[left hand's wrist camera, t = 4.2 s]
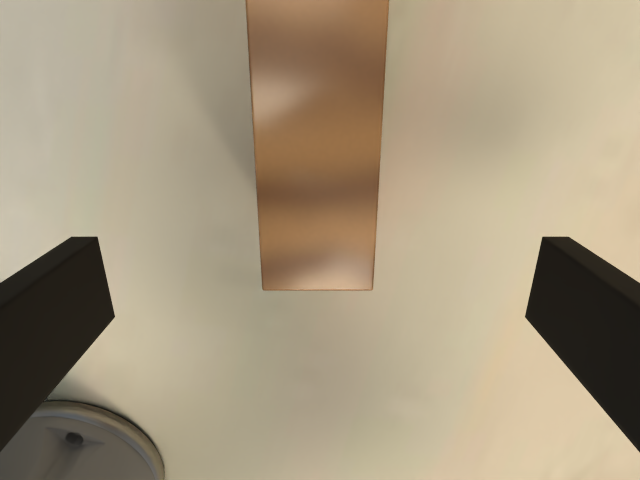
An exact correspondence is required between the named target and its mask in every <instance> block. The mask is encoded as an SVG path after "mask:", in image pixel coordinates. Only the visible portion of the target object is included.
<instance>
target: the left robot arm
mask: <svg viewBox="0 0 640 480" xmlns="http://www.w3.org/2000/svg"><path fill="white" fill-rule="evenodd" d="M114 317H115V315H114V310H113V306H112V301H111V297H110V292H109V287H108V283H107V278H106V274H105V269H104V264H103V260H102V255H101V251H100V246H99V241H98V237H70V238H69V239H67V240H66V241H64V242H63V243H61V244H60V245H58V246H57V247H55V248H53V249H52V250H50V251H49V252H47V253H46V254H44V255H43V256H41V257H40V258H38V259H37V260H35V261H33V262H32V263H30V264H29V265H27V266H26V267H24V268H23V269H21V270H20V271H18V272H17V273H15V274H13V275H12V276H10V277H9V278H7V279H6V280H4V281H3V282H1V283H0V480H164V467H163V463H162V460H161V458H160V455H159V453H158V452H157V450H156V448H155V447H154V445H153V444H152V442H151V441H150V440H149V439H148V438H147V437H146V436H145V435H144V434H143V433H142V432H141V431H140V430H139V429H138V428H136V427H135V426H134V425H132V424H131V423H129V422H128V421H126V420H125V419H123V418H121V417H119V416H117V415H115V414H113V413H111V412H109V411H106V410H104V409H101V408H98V407H95V406H91V405H87V404H82V403H76V402H67V401H51V402H43V401H44V400H45V399H46V398H47V396H48V395H49V394H50V393H51V392H52V391H53V389H54V388H55V387H56V386H57V385H58V384H59V382H60V381H61V380H62V379H63V378H64V376H65V375H66V374H67V373H68V372H69V371H70V369H71V368H72V367H73V366H74V365H75V363H76V362H77V361H78V360H79V359H80V358H81V356H82V355H83V354H84V353H85V352H86V350H87V349H88V348H89V347H90V346H91V345H92V343H93V342H94V341H95V340H96V339H97V338H98V336H99V335H100V334H101V333H102V332H103V330H104V329H105V328H106V327H107V326H108V325H109V323H110V322H111V321H112V320H113V319H114ZM525 317H526V319H527V320H528V321H529V322H530V323H531V325H532V326H533V327H534V328H535V329H536V330H537V332H538V333H539V334H540V335H541V336H542V338H543V339H544V340H545V341H546V342H547V343H548V345H549V346H550V347H551V348H552V349H553V350H554V352H555V353H556V354H557V355H558V356H559V358H560V359H561V360H562V361H563V362H564V363H565V365H566V366H567V367H568V368H569V369H570V371H571V372H572V373H573V374H574V375H575V376H576V378H577V379H578V380H579V381H580V382H581V384H582V385H583V386H584V387H585V388H586V389H587V391H588V392H589V393H590V394H591V395H592V396H593V398H594V399H595V400H596V401H597V402H598V404H599V405H600V406H601V407H602V408H603V409H604V411H605V412H606V413H607V414H608V415H609V417H610V418H611V419H612V420H613V421H614V422H615V424H616V425H617V426H618V427H619V428H620V429H621V431H622V432H623V433H624V434H625V435H626V437H627V438H628V439H629V440H630V441H631V442H632V444H633V445H634V446H635V447H636V448H637V450H638V451H639V452H640V283H639V282H637V281H636V280H634V279H633V278H631V277H630V276H628V275H627V274H625V273H623V272H622V271H620V270H619V269H617V268H616V267H614V266H613V265H611V264H610V263H608V262H607V261H605V260H603V259H602V258H600V257H599V256H597V255H596V254H594V253H593V252H591V251H590V250H588V249H587V248H585V247H583V246H582V245H580V244H579V243H577V242H576V241H574V240H573V239H571V238H570V237H542V241H541V246H540V251H539V255H538V260H537V264H536V269H535V274H534V278H533V283H532V287H531V292H530V297H529V301H528V306H527V310H526V315H525Z"/></svg>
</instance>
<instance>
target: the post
mask: <svg viewBox="0 0 640 480" xmlns="http://www.w3.org/2000/svg"><path fill="white" fill-rule="evenodd" d="M388 9H389V0H246V16H247V34H248V51H249V68H250V85H251V103H252V120H253V137H254V154H255V171H256V189H257V206H258V223H259V240H260V257H261V275H262V289H263V290H372V289H373V279H374V261H375V243H376V225H377V207H378V189H379V171H380V153H381V135H382V117H383V99H384V81H385V63H386V45H387V27H388Z"/></svg>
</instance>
